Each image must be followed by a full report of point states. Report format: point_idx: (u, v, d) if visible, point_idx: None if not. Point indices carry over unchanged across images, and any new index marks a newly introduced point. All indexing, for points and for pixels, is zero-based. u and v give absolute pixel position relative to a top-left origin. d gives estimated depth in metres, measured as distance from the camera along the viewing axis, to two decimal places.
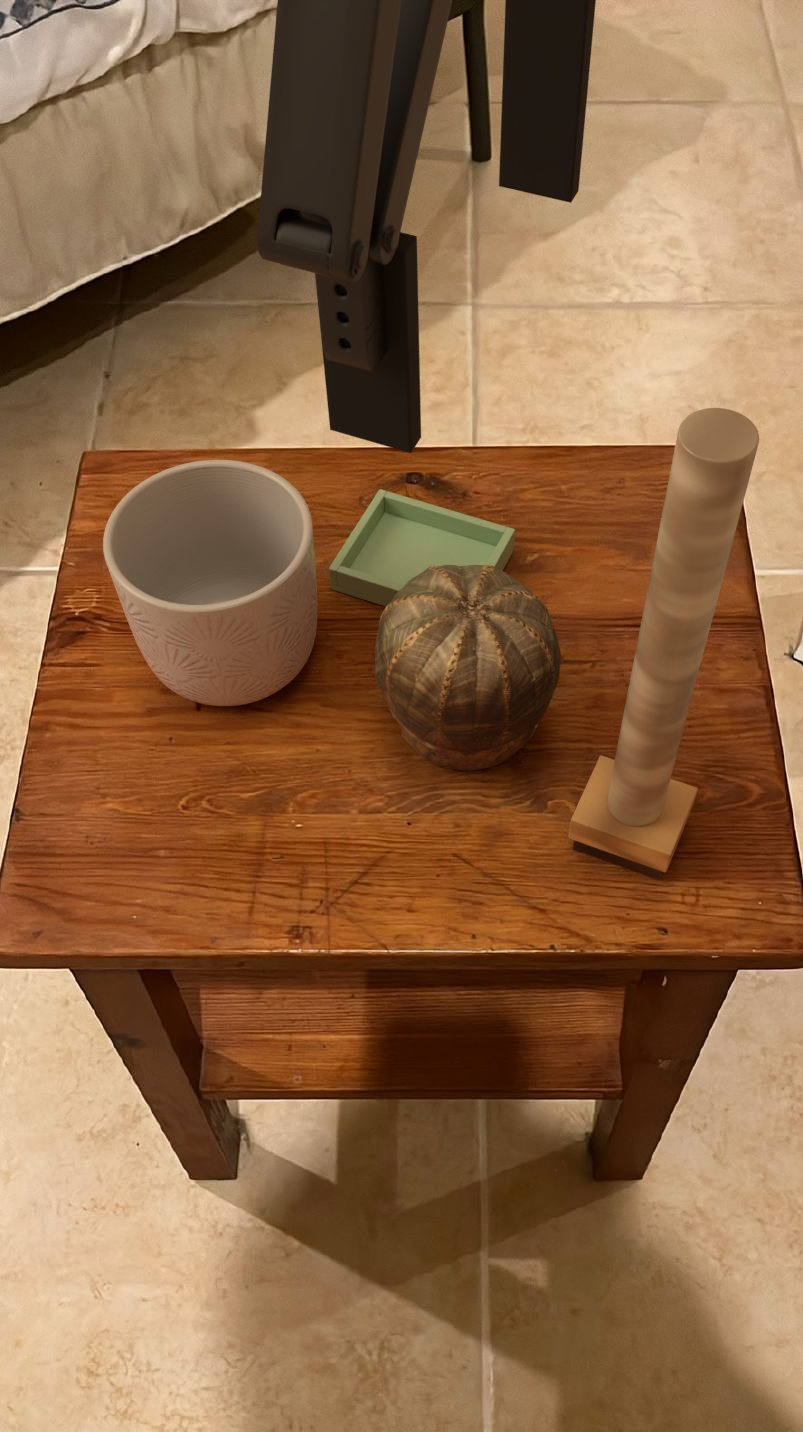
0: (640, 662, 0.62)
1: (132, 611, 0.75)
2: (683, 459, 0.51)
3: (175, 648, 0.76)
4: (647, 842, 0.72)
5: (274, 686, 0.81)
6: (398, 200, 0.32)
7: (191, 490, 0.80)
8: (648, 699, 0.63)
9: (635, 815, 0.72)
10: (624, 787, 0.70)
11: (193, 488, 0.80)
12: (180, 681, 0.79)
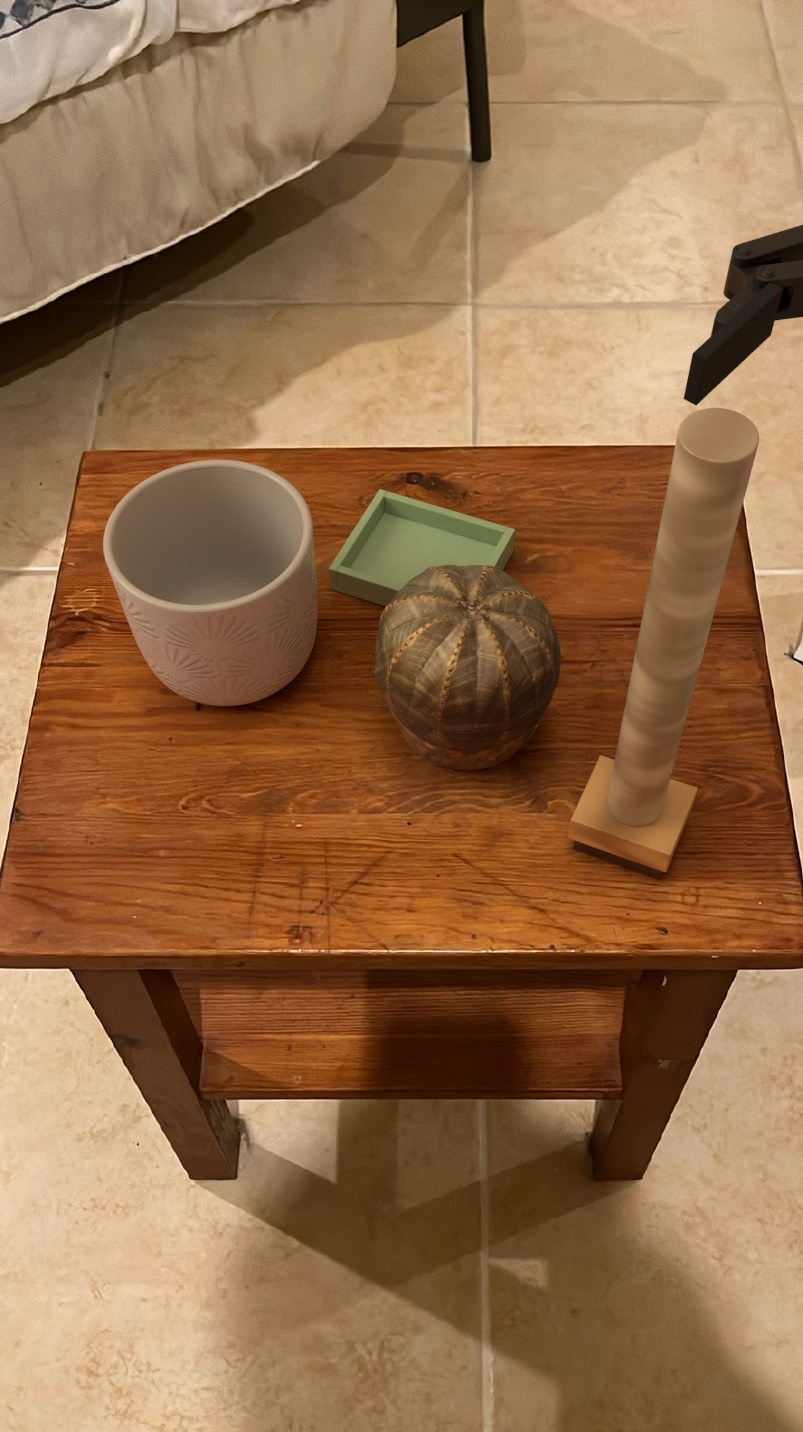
0: (640, 662, 0.62)
1: (132, 611, 0.75)
2: (683, 459, 0.51)
3: (175, 648, 0.76)
4: (647, 842, 0.72)
5: (274, 686, 0.81)
6: (785, 270, 0.63)
7: (191, 490, 0.80)
8: (648, 699, 0.63)
9: (635, 815, 0.72)
10: (624, 787, 0.70)
11: (193, 488, 0.80)
12: (180, 681, 0.79)
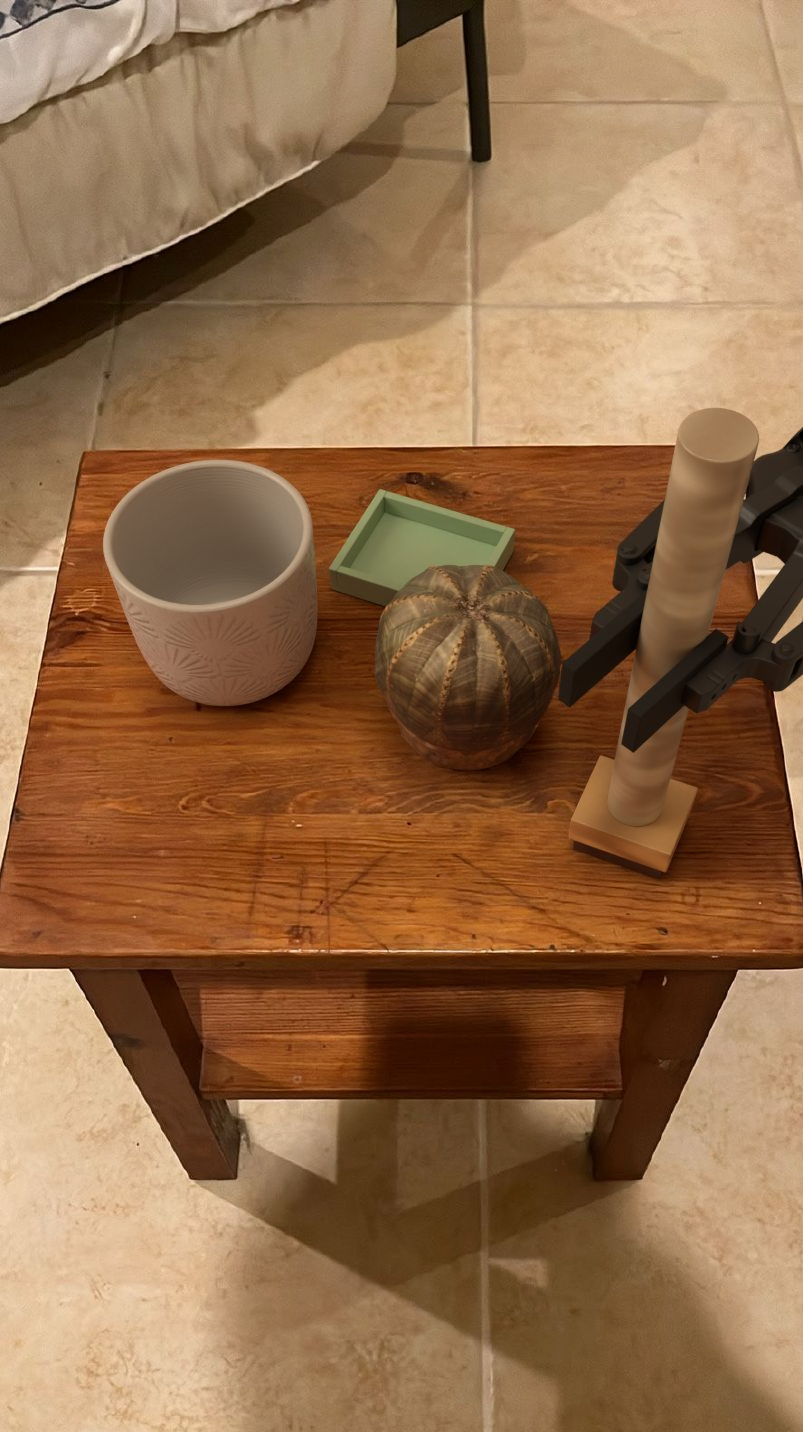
0: (640, 662, 0.62)
1: (132, 611, 0.75)
2: (683, 459, 0.51)
3: (175, 648, 0.76)
4: (647, 842, 0.72)
5: (274, 686, 0.81)
6: None
7: (191, 490, 0.80)
8: None
9: (635, 815, 0.72)
10: (624, 787, 0.70)
11: (193, 488, 0.80)
12: (180, 681, 0.79)
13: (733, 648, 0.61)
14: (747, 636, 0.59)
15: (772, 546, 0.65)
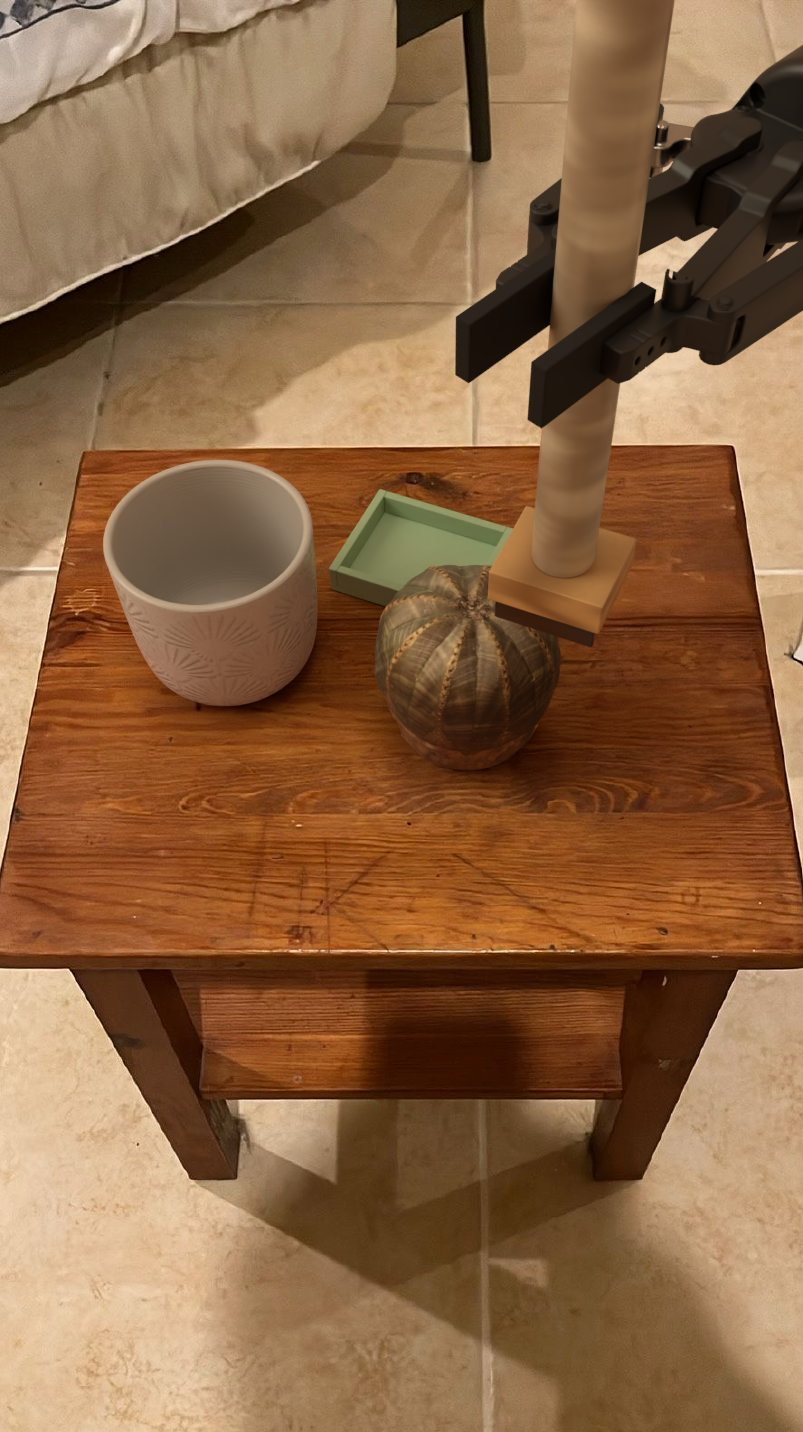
0: (554, 332, 0.52)
1: (132, 611, 0.75)
2: None
3: (175, 648, 0.76)
4: (575, 595, 0.63)
5: (274, 686, 0.81)
6: None
7: (191, 490, 0.80)
8: None
9: (561, 561, 0.62)
10: (546, 522, 0.61)
11: (193, 488, 0.80)
12: (180, 681, 0.79)
13: (662, 307, 0.51)
14: (677, 284, 0.50)
15: (715, 216, 0.56)
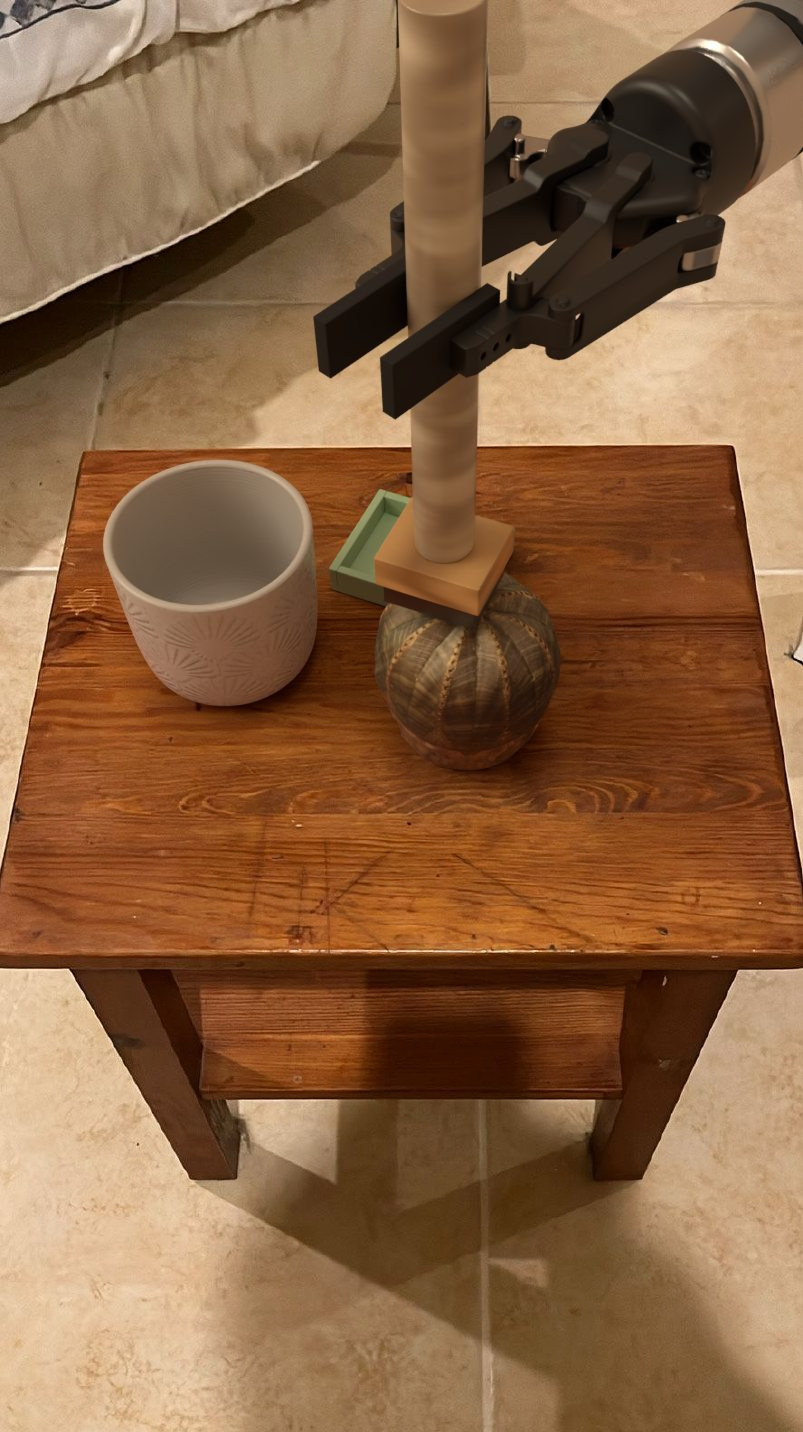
0: (411, 331, 0.56)
1: (132, 611, 0.75)
2: (403, 21, 0.45)
3: (175, 648, 0.76)
4: (454, 578, 0.67)
5: (274, 686, 0.81)
6: None
7: (191, 490, 0.80)
8: None
9: (440, 547, 0.66)
10: (422, 509, 0.64)
11: (193, 488, 0.80)
12: (180, 681, 0.79)
13: (507, 306, 0.55)
14: (518, 285, 0.54)
15: (567, 222, 0.60)
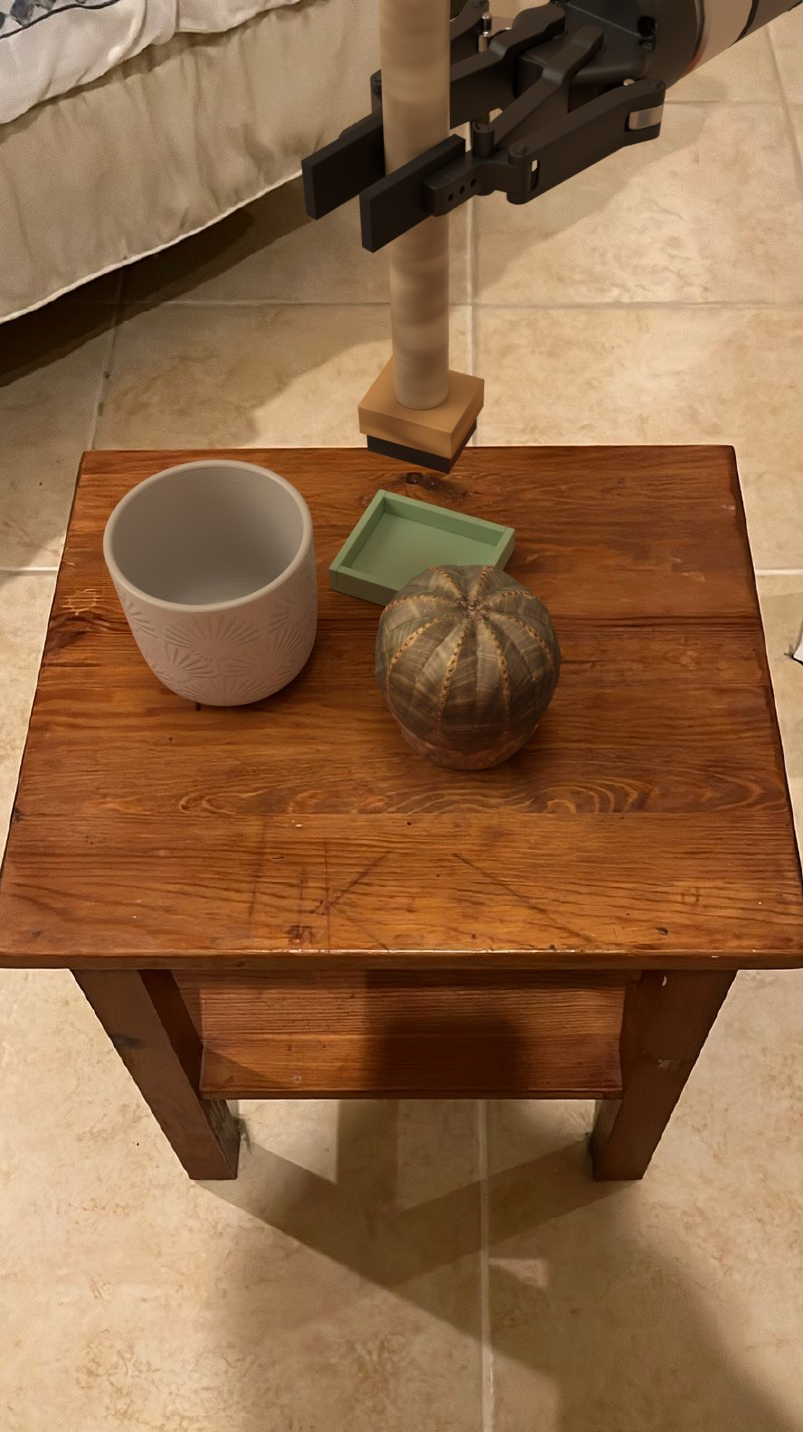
0: None
1: (132, 611, 0.75)
2: None
3: (175, 648, 0.76)
4: (429, 423, 0.74)
5: (274, 686, 0.81)
6: None
7: (191, 490, 0.80)
8: None
9: (416, 394, 0.74)
10: (400, 356, 0.72)
11: (193, 488, 0.80)
12: (180, 681, 0.79)
13: (472, 154, 0.62)
14: (481, 133, 0.61)
15: None
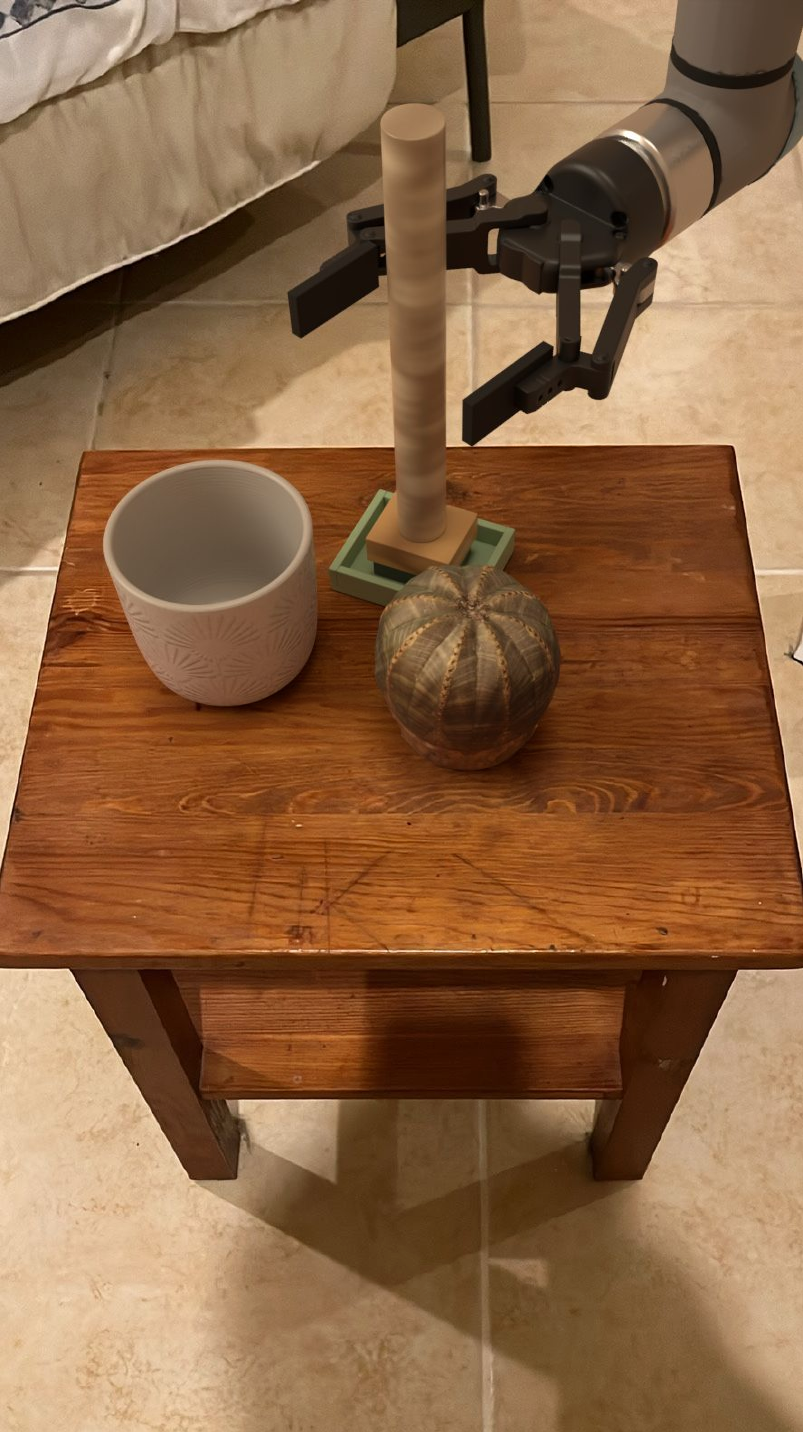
0: (392, 361, 0.73)
1: (132, 611, 0.75)
2: (384, 142, 0.62)
3: (175, 648, 0.76)
4: (429, 555, 0.84)
5: (274, 686, 0.81)
6: (384, 232, 0.76)
7: (191, 490, 0.80)
8: (404, 398, 0.75)
9: (418, 530, 0.83)
10: (403, 499, 0.82)
11: (193, 488, 0.80)
12: (180, 681, 0.79)
13: (559, 359, 0.70)
14: (573, 343, 0.69)
15: (516, 272, 0.76)
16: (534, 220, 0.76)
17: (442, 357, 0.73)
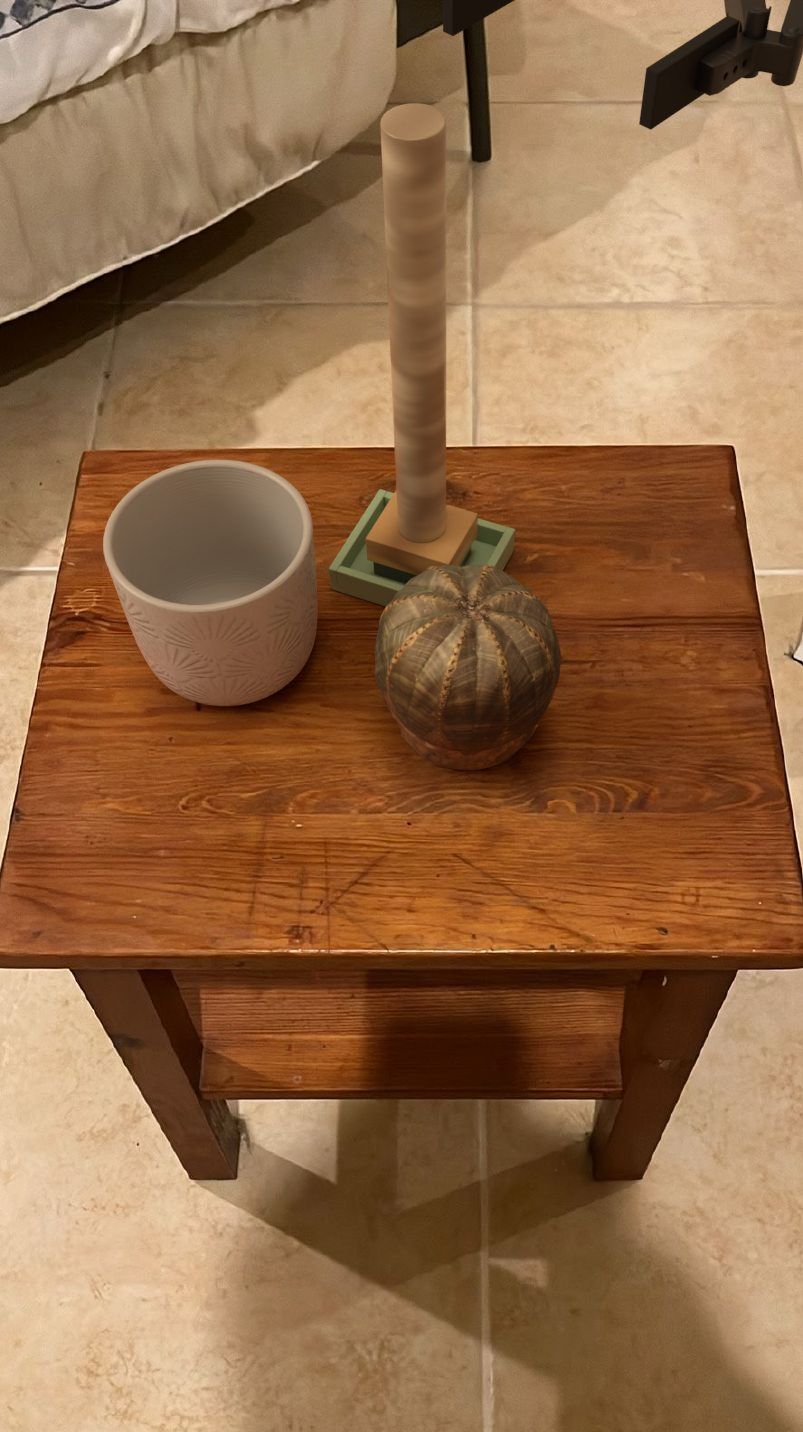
0: (392, 361, 0.73)
1: (132, 611, 0.75)
2: (384, 142, 0.62)
3: (175, 648, 0.76)
4: (429, 555, 0.84)
5: (274, 686, 0.81)
6: None
7: (191, 490, 0.80)
8: (404, 398, 0.75)
9: (418, 530, 0.83)
10: (403, 499, 0.82)
11: (193, 488, 0.80)
12: (180, 681, 0.79)
13: (744, 36, 0.65)
14: (763, 13, 0.64)
15: None
16: None
17: (442, 357, 0.73)
